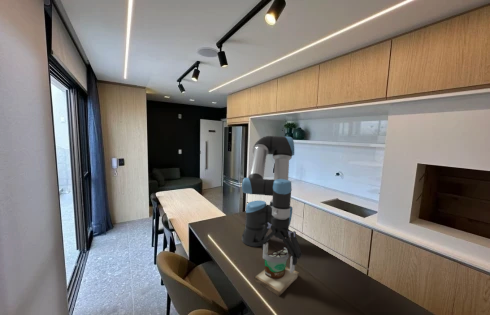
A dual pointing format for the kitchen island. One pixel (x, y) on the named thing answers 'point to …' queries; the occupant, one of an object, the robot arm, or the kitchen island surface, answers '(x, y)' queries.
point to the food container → (276, 263)
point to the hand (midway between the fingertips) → (277, 264)
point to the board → (277, 281)
